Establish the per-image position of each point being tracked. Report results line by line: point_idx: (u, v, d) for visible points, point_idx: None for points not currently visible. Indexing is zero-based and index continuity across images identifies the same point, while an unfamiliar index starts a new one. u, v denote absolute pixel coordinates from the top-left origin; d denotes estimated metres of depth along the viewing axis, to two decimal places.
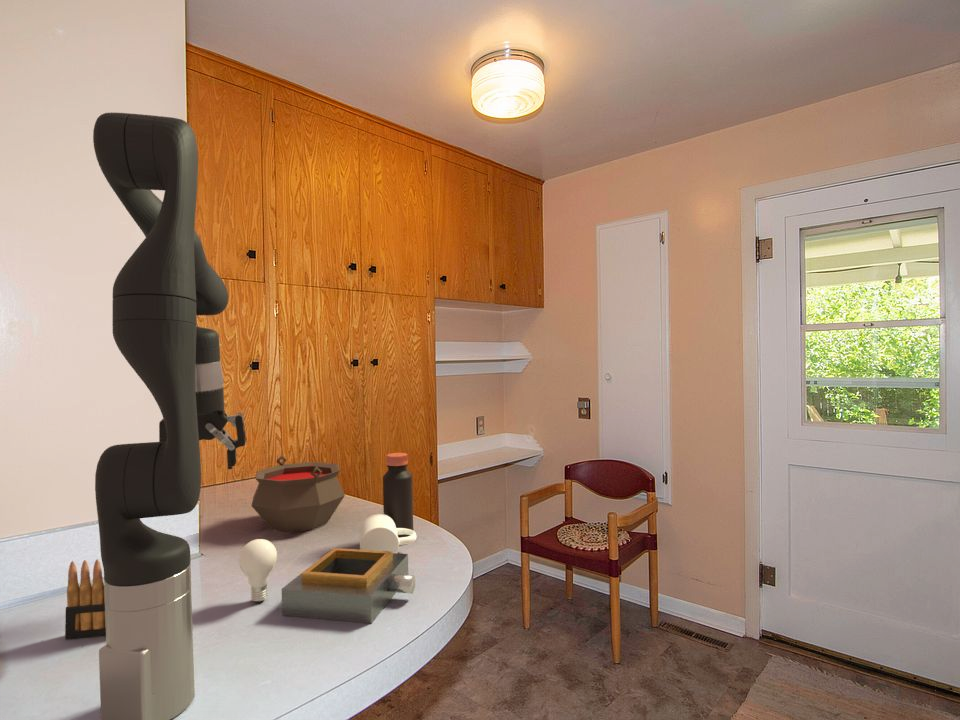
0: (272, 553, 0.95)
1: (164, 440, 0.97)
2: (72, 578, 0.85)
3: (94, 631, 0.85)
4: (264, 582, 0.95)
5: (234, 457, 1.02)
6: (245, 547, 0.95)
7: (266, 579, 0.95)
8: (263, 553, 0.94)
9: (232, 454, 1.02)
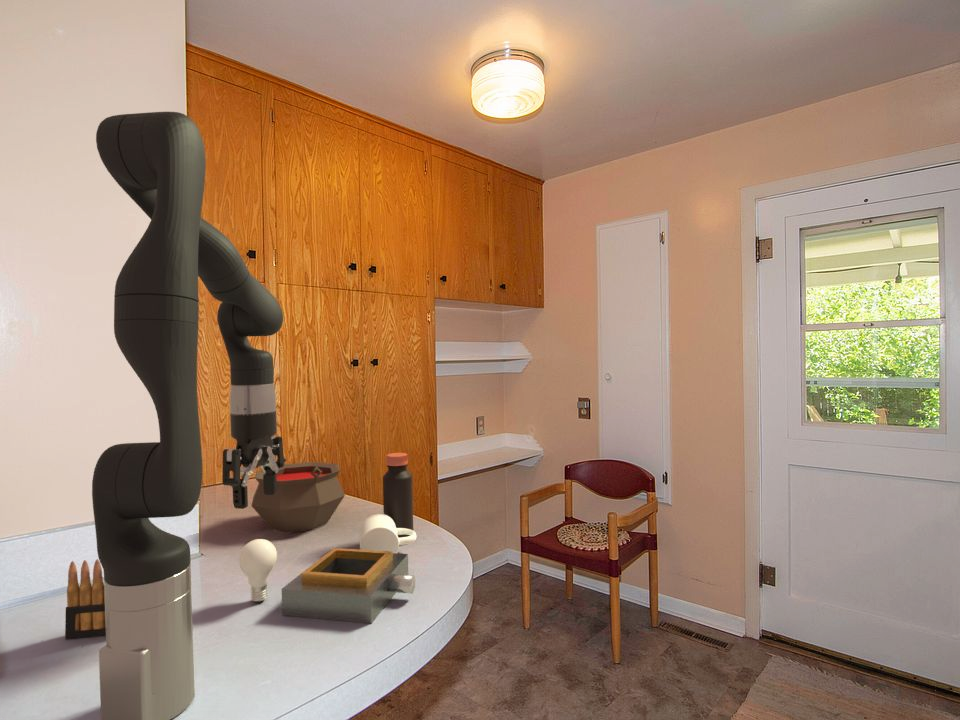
0: (272, 553, 0.95)
1: (238, 471, 0.89)
2: (72, 578, 0.85)
3: (94, 631, 0.85)
4: (264, 582, 0.95)
5: (275, 481, 1.01)
6: (245, 547, 0.95)
7: (266, 579, 0.95)
8: (263, 553, 0.94)
9: None
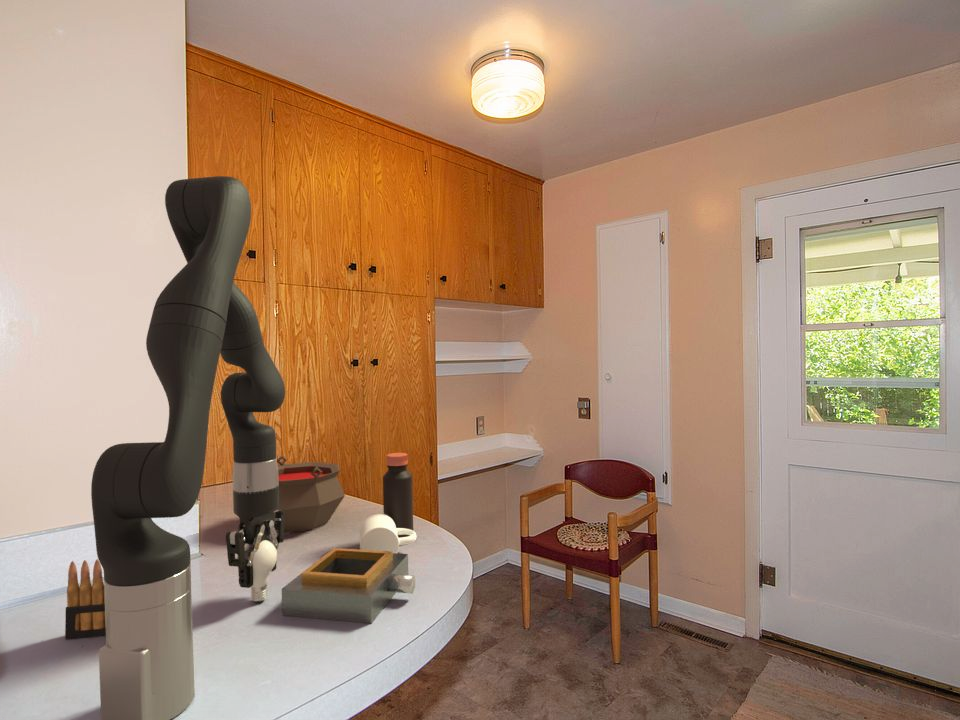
0: (272, 553, 0.95)
1: (243, 553, 0.90)
2: (72, 578, 0.85)
3: (94, 631, 0.85)
4: (264, 582, 0.95)
5: None
6: None
7: (266, 579, 0.95)
8: (263, 553, 0.94)
9: None
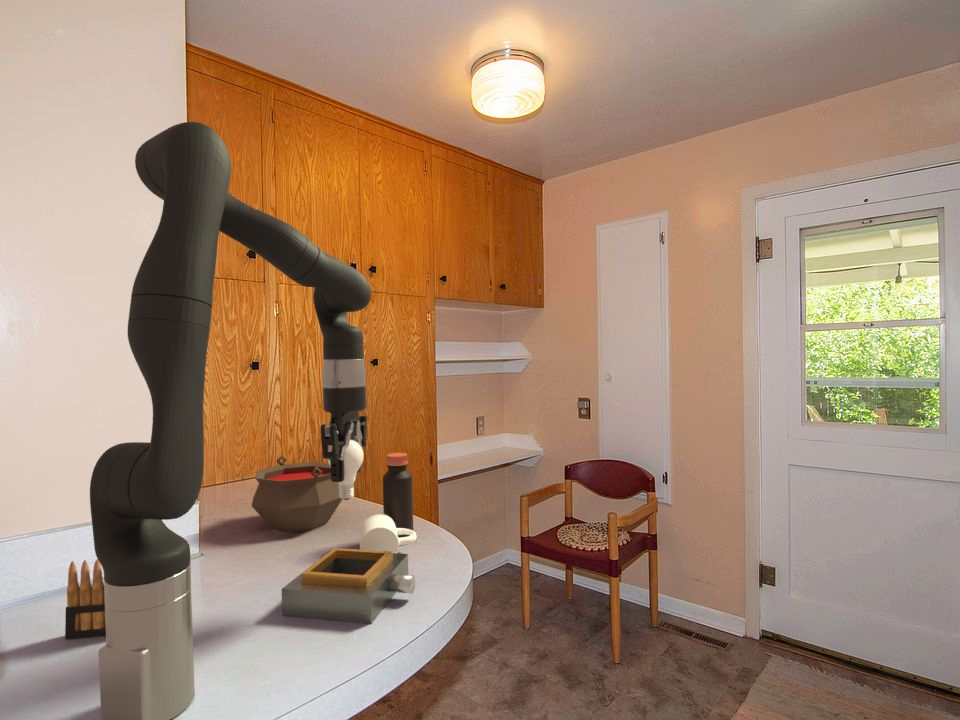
0: (360, 451, 0.96)
1: (337, 445, 0.91)
2: (72, 578, 0.85)
3: (94, 631, 0.85)
4: (352, 480, 0.97)
5: None
6: None
7: (354, 477, 0.97)
8: (353, 450, 0.95)
9: None
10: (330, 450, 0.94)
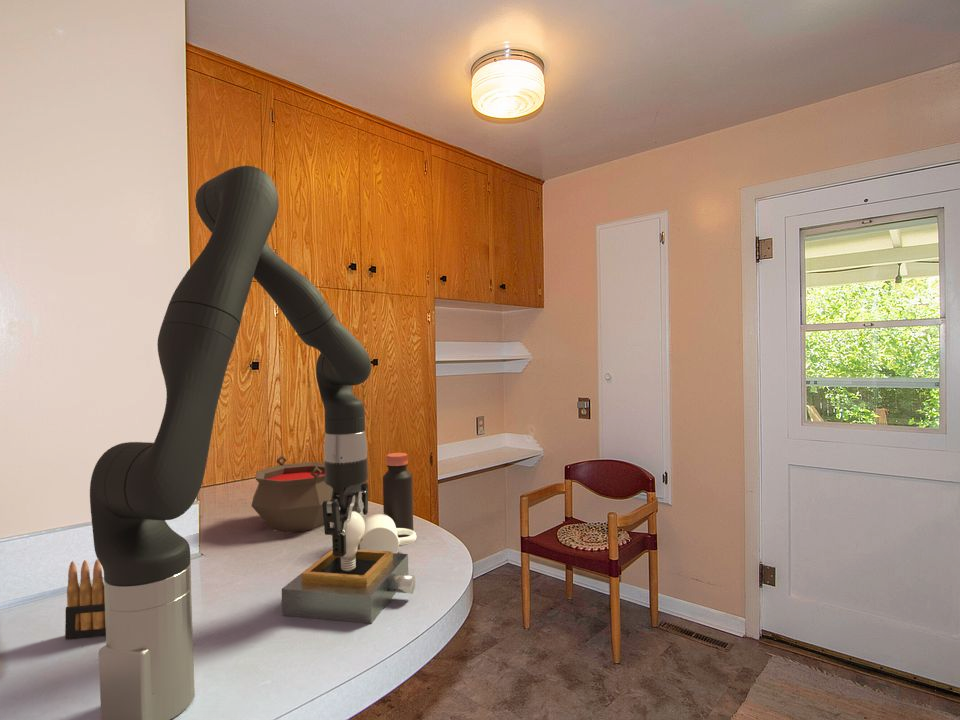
0: (361, 523, 0.97)
1: (339, 521, 0.92)
2: (72, 578, 0.85)
3: (94, 631, 0.85)
4: (354, 552, 0.97)
5: None
6: None
7: (355, 549, 0.97)
8: (354, 523, 0.96)
9: None
10: (332, 525, 0.94)
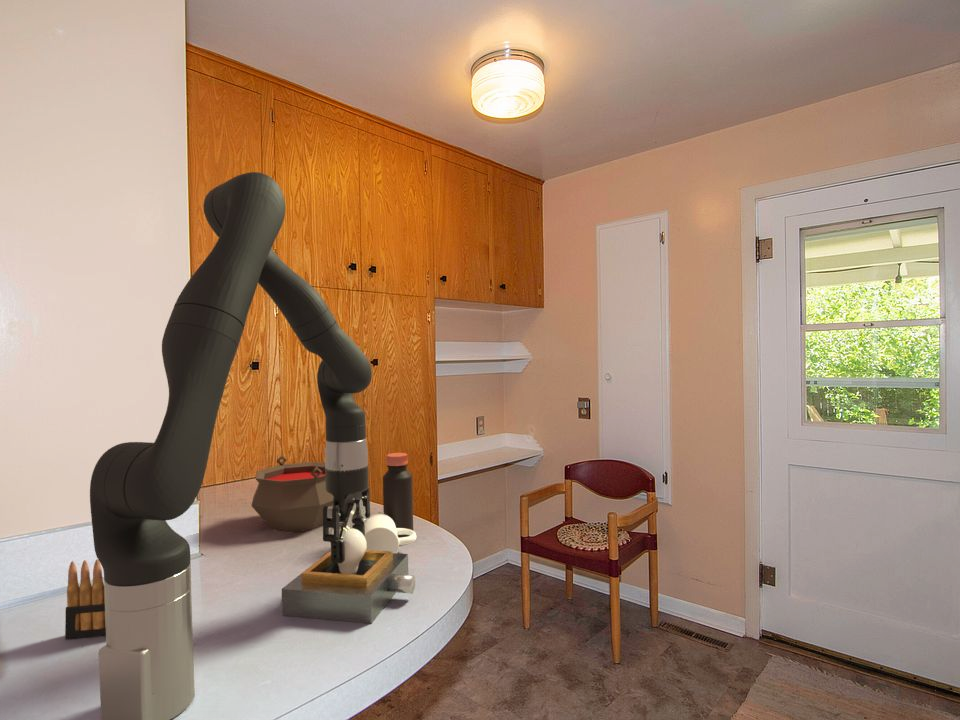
0: (363, 541, 0.97)
1: (338, 528, 0.91)
2: (72, 578, 0.85)
3: (94, 631, 0.85)
4: (355, 570, 0.97)
5: None
6: None
7: (356, 568, 0.97)
8: (356, 541, 0.96)
9: None
10: (331, 531, 0.93)
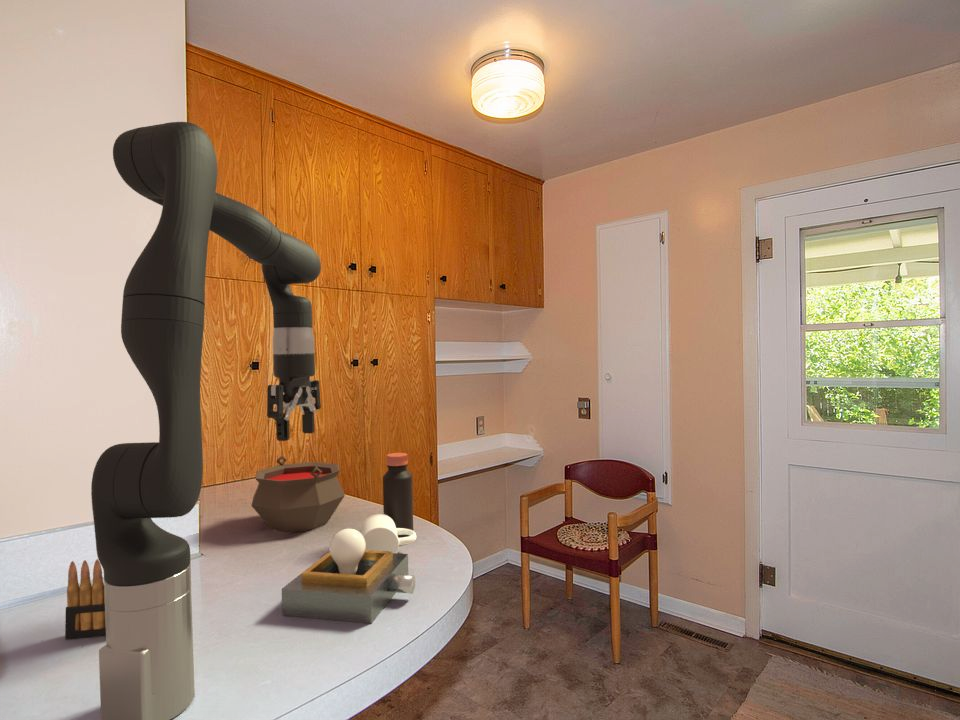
0: (362, 542, 0.97)
1: (281, 405, 0.97)
2: (72, 578, 0.85)
3: (94, 631, 0.85)
4: (354, 571, 0.97)
5: None
6: (336, 536, 0.96)
7: (356, 568, 0.97)
8: (355, 542, 0.96)
9: None
10: (276, 410, 0.99)
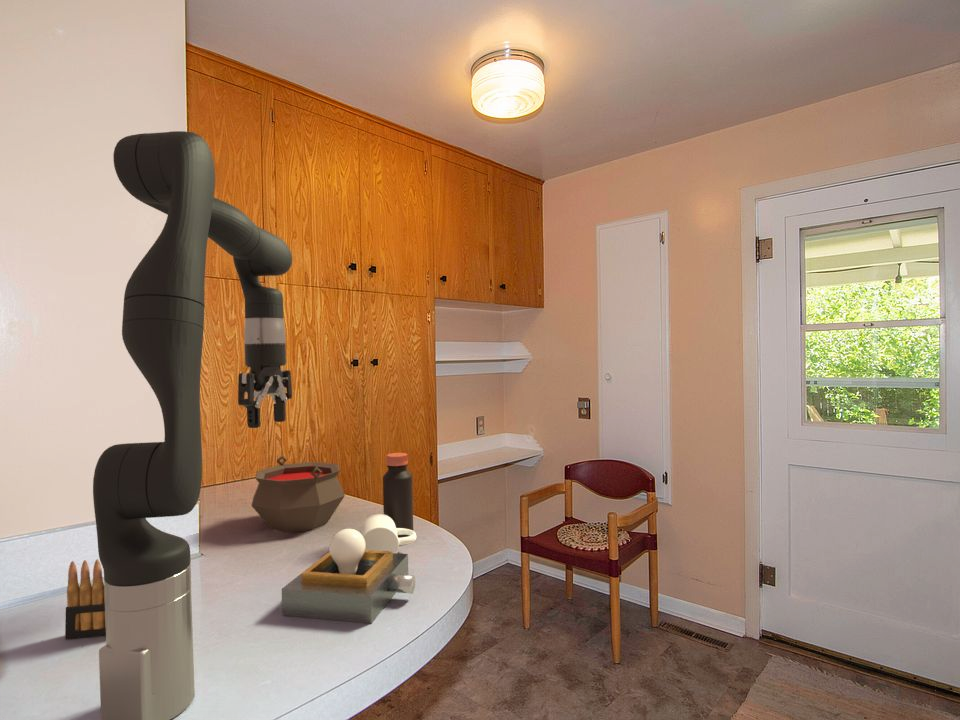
0: (362, 542, 0.97)
1: (252, 393, 1.00)
2: (72, 578, 0.85)
3: (94, 631, 0.85)
4: (354, 571, 0.97)
5: None
6: (336, 536, 0.96)
7: (355, 568, 0.97)
8: (355, 542, 0.95)
9: None
10: (247, 398, 1.02)
